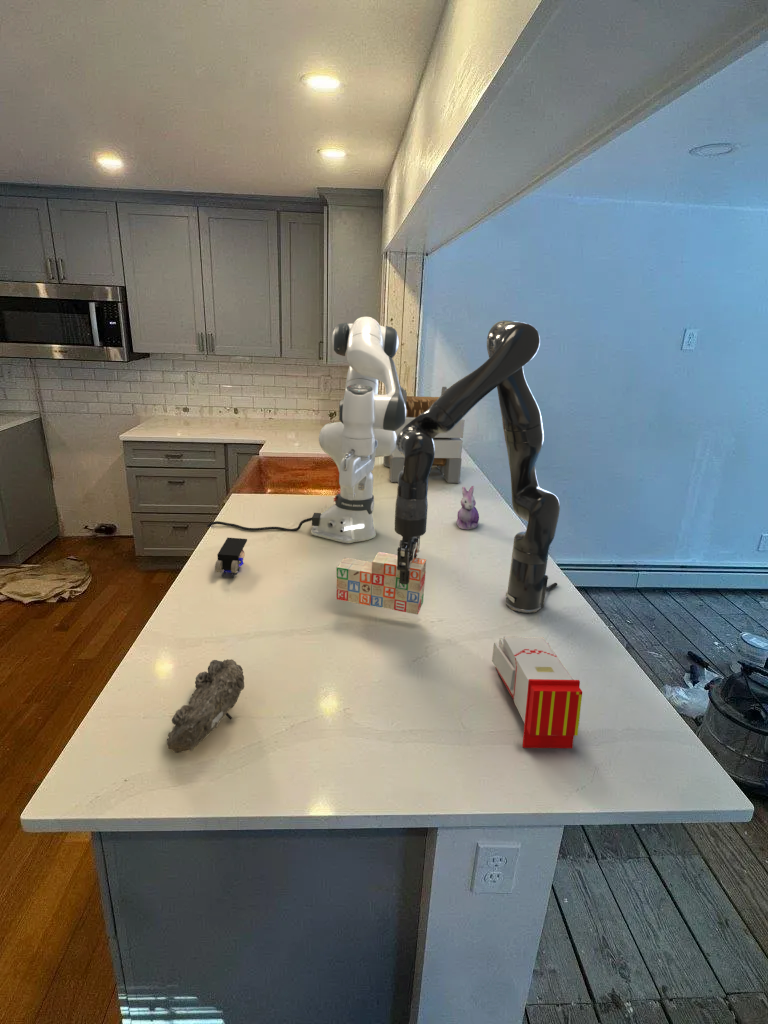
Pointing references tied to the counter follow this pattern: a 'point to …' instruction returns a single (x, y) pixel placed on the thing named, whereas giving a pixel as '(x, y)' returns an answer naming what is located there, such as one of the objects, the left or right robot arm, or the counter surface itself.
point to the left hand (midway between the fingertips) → (356, 494)
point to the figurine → (468, 510)
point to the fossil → (206, 705)
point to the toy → (539, 691)
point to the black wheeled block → (230, 556)
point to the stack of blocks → (381, 583)
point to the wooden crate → (445, 443)
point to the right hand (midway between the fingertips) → (407, 577)
